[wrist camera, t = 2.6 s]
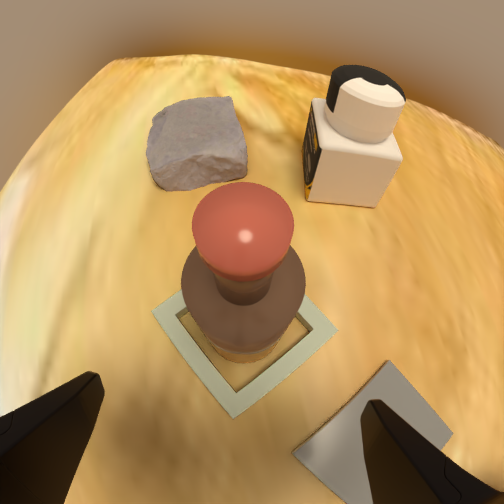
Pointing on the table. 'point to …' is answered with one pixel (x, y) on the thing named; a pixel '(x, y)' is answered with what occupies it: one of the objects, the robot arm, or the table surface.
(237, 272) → the sauce bottle
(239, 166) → the stone block
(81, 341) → the table surface
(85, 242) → the table surface
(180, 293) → the pocket frame
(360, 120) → the medicine bottle
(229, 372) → the table surface
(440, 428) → the slate pad
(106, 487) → the table surface
